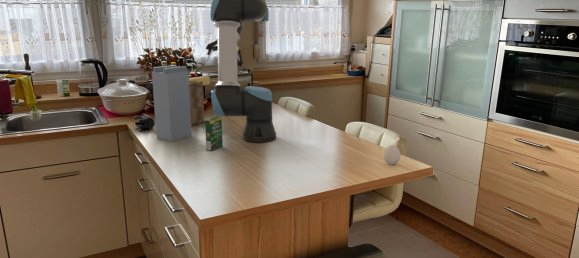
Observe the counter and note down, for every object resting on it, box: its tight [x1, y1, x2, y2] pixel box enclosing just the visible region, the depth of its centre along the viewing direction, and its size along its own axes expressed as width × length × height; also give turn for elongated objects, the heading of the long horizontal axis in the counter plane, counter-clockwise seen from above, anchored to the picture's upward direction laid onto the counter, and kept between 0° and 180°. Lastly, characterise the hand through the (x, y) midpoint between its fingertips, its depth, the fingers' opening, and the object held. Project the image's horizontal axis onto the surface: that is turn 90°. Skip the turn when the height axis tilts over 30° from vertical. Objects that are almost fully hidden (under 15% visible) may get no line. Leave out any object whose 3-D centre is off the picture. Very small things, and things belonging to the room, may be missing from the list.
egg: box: [383, 144, 401, 166], centre depth 166 cm, size 6×6×8 cm
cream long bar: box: [189, 75, 211, 86], centre depth 229 cm, size 22×4×4 cm, turn 145°
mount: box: [151, 64, 192, 143], centre depth 200 cm, size 12×10×32 cm
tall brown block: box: [189, 82, 205, 126], centre depth 229 cm, size 10×10×21 cm
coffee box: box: [204, 115, 224, 152], centre depth 184 cm, size 8×3×13 cm, turn 150°
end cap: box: [134, 113, 156, 133], centre depth 217 cm, size 10×7×7 cm
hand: (220, 65), depth 222 cm, fingers open, 13 cm apart
